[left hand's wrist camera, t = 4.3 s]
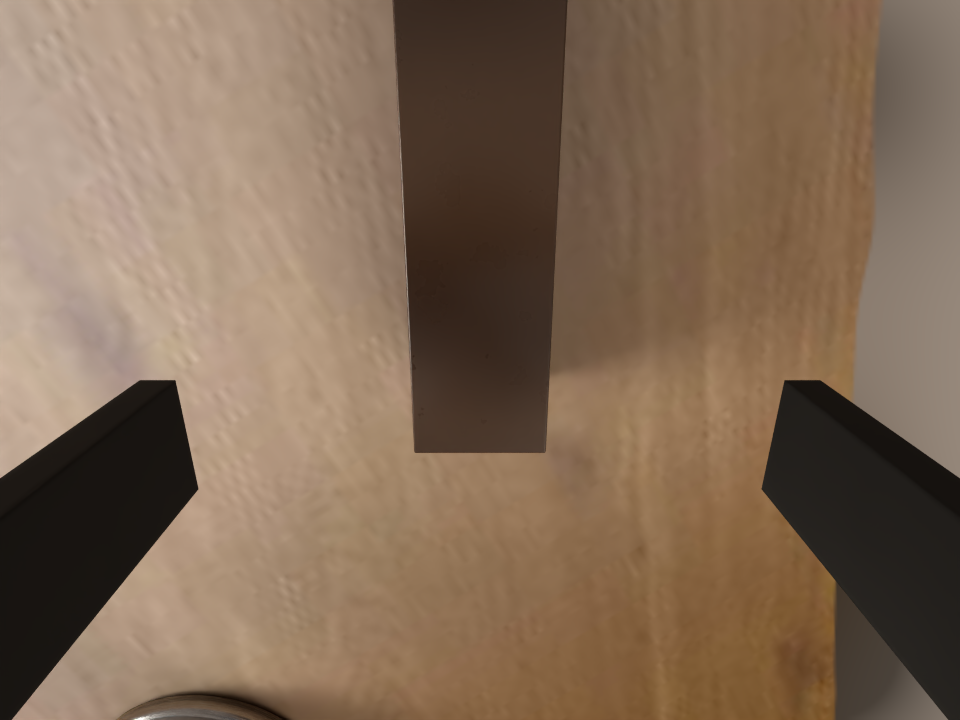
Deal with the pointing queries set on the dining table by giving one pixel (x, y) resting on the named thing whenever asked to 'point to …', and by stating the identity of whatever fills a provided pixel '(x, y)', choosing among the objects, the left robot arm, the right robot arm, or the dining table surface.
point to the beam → (480, 215)
